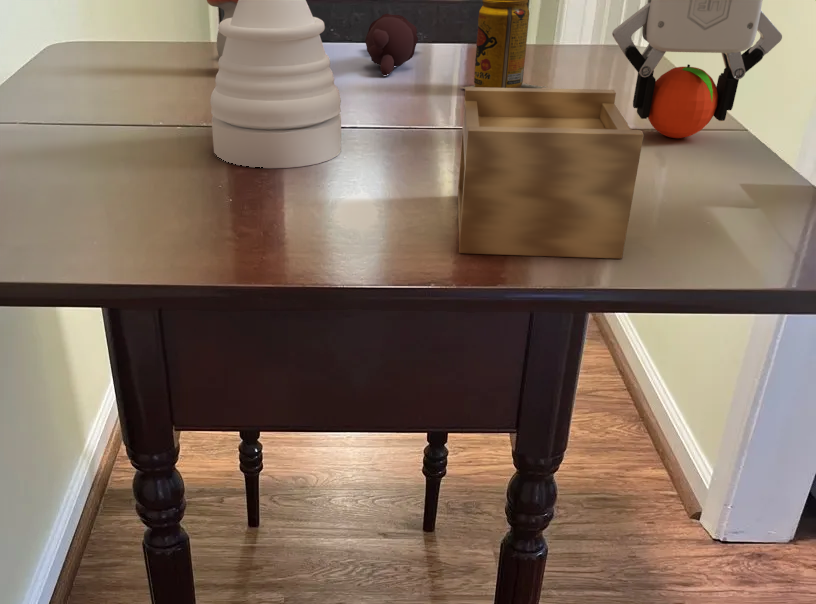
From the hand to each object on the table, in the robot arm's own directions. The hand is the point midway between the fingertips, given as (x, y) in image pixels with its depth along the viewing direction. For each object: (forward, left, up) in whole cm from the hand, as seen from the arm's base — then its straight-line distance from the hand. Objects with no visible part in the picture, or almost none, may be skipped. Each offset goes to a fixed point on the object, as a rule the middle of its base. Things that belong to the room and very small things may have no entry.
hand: (680, 115), depth 95 cm
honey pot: (+41, +8, -3) cm, 42 cm away
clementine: (0, 0, -3) cm, 3 cm away
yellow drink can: (+17, -22, -3) cm, 28 cm away
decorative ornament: (+51, -29, -3) cm, 59 cm away
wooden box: (+17, +28, -2) cm, 33 cm away
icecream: (+32, -35, -3) cm, 47 cm away
